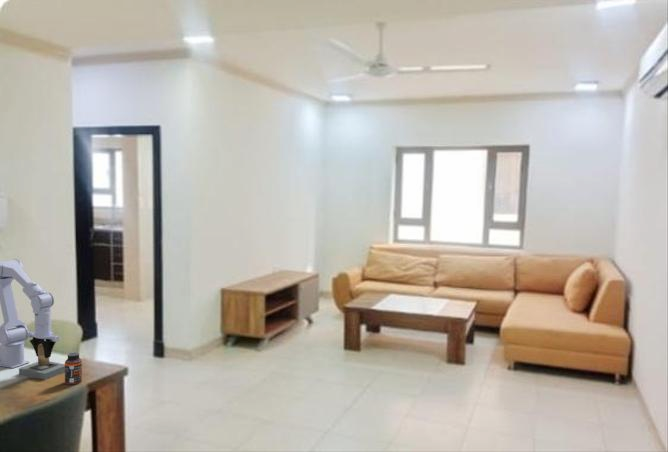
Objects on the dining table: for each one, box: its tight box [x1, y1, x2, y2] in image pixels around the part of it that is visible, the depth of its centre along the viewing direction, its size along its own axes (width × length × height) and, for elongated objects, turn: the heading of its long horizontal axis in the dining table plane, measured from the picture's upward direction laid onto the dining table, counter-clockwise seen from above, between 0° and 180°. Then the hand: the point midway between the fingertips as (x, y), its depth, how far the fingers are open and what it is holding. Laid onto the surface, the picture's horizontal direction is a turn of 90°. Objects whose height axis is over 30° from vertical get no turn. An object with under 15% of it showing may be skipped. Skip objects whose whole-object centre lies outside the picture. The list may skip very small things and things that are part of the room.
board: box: [18, 360, 65, 381], centre depth 216 cm, size 14×11×3 cm
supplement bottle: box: [64, 352, 83, 386], centre depth 206 cm, size 6×6×11 cm
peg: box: [37, 344, 50, 366], centre depth 215 cm, size 4×4×8 cm
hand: (43, 356), depth 215 cm, fingers closed on peg, 4 cm apart
